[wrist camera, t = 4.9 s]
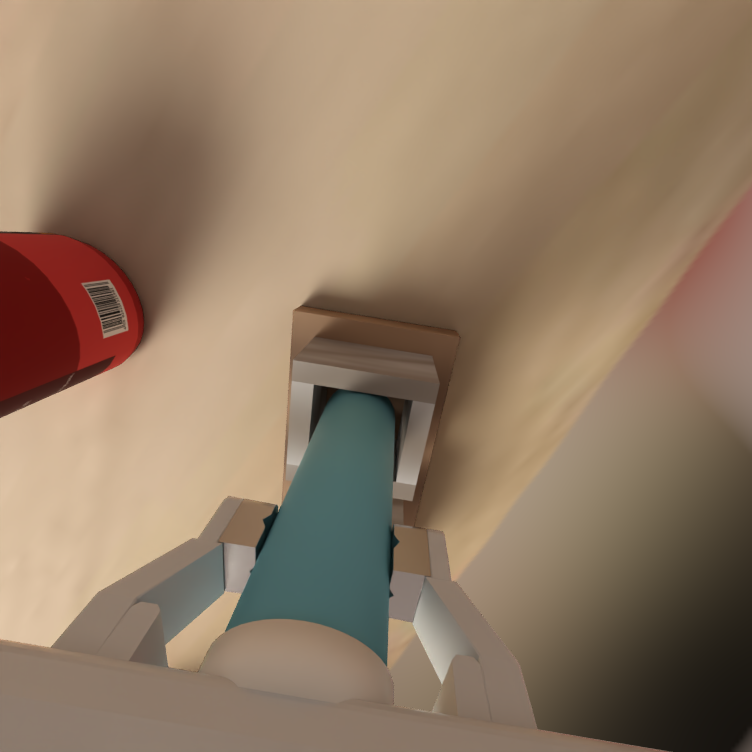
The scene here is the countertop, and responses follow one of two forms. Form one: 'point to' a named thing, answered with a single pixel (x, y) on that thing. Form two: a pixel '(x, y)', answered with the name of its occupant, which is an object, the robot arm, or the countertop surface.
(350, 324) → the dock board
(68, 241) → the canned food
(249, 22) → the countertop surface
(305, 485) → the pin
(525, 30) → the countertop surface
